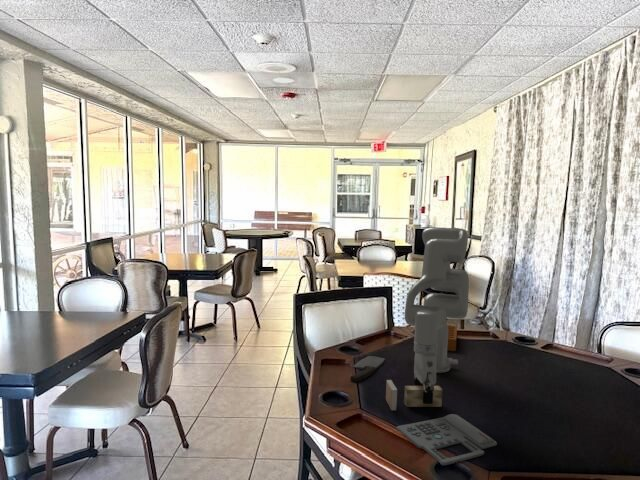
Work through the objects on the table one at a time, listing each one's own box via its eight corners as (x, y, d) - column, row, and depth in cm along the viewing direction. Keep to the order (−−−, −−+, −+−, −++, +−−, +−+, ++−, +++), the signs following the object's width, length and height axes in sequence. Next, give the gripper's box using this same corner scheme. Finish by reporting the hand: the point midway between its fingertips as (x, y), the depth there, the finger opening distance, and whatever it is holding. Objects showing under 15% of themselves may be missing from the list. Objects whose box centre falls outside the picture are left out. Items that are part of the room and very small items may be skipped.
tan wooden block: (438, 402, 144) (439, 385, 143) (441, 407, 141) (442, 389, 140) (404, 402, 143) (404, 385, 143) (406, 407, 140) (407, 389, 139)
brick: (433, 334, 225) (433, 323, 224) (456, 337, 221) (457, 326, 220) (429, 348, 201) (430, 336, 201) (455, 352, 197) (456, 339, 197)
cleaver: (363, 384, 157) (363, 379, 157) (339, 379, 161) (339, 373, 161) (386, 360, 184) (387, 356, 184) (365, 356, 188) (365, 352, 188)
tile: (390, 399, 145) (391, 379, 144) (396, 410, 137) (397, 389, 136) (385, 399, 145) (386, 379, 144) (391, 410, 137) (391, 389, 136)
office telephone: (456, 410, 135) (506, 442, 116) (456, 417, 135) (506, 451, 117) (396, 422, 125) (440, 458, 107) (395, 430, 125) (439, 468, 107)
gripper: (445, 356, 132) (442, 408, 133) (427, 339, 149) (425, 386, 150) (422, 356, 131) (420, 408, 132) (407, 339, 148) (404, 386, 149)
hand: (422, 396), depth 141 cm, fingers open, 9 cm apart
